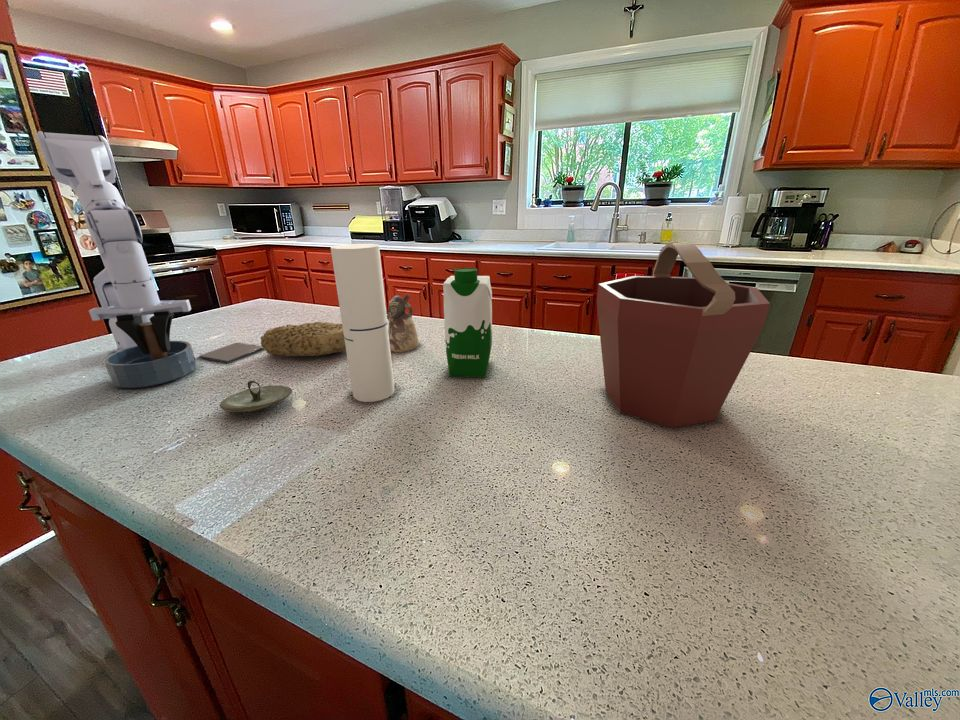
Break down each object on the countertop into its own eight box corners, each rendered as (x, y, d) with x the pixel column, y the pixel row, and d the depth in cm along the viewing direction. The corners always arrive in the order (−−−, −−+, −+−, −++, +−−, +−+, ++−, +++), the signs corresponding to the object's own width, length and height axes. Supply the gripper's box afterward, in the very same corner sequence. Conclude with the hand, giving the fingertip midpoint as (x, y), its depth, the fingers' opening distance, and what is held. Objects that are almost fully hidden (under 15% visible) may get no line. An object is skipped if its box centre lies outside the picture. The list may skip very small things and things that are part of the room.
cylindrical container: (384, 403, 66) (365, 249, 56) (345, 399, 67) (320, 248, 58) (400, 385, 72) (386, 243, 63) (364, 382, 74) (345, 243, 64)
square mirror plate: (199, 357, 87) (199, 355, 87) (236, 344, 94) (236, 342, 94) (228, 363, 84) (227, 361, 83) (264, 349, 91) (263, 347, 91)
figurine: (384, 344, 93) (378, 293, 89) (413, 339, 96) (409, 290, 91) (391, 354, 87) (385, 300, 83) (422, 348, 90) (418, 296, 85)
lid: (239, 436, 60) (236, 410, 58) (208, 404, 64) (205, 378, 62) (303, 410, 68) (304, 387, 66) (272, 383, 72) (272, 360, 70)
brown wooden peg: (151, 369, 77) (135, 324, 73) (165, 364, 79) (150, 321, 76) (159, 371, 76) (144, 326, 72) (174, 366, 78) (159, 322, 75)
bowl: (97, 384, 75) (87, 359, 73) (170, 359, 86) (163, 337, 84) (141, 395, 70) (131, 369, 68) (212, 367, 81) (205, 344, 80)
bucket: (743, 457, 51) (800, 259, 41) (572, 421, 60) (586, 251, 50) (724, 382, 71) (759, 238, 62) (599, 364, 80) (613, 235, 71)
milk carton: (444, 378, 75) (438, 271, 67) (451, 360, 83) (447, 263, 76) (490, 379, 74) (489, 271, 66) (493, 361, 82) (493, 263, 75)
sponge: (260, 366, 85) (338, 355, 79) (251, 330, 84) (329, 316, 78) (303, 355, 97) (373, 345, 91) (296, 323, 96) (366, 311, 90)
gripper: (69, 288, 65) (100, 364, 70) (174, 281, 70) (196, 352, 75) (89, 281, 71) (116, 351, 76) (184, 274, 76) (204, 341, 81)
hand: (157, 351), depth 76 cm, fingers closed on brown wooden peg, 2 cm apart
